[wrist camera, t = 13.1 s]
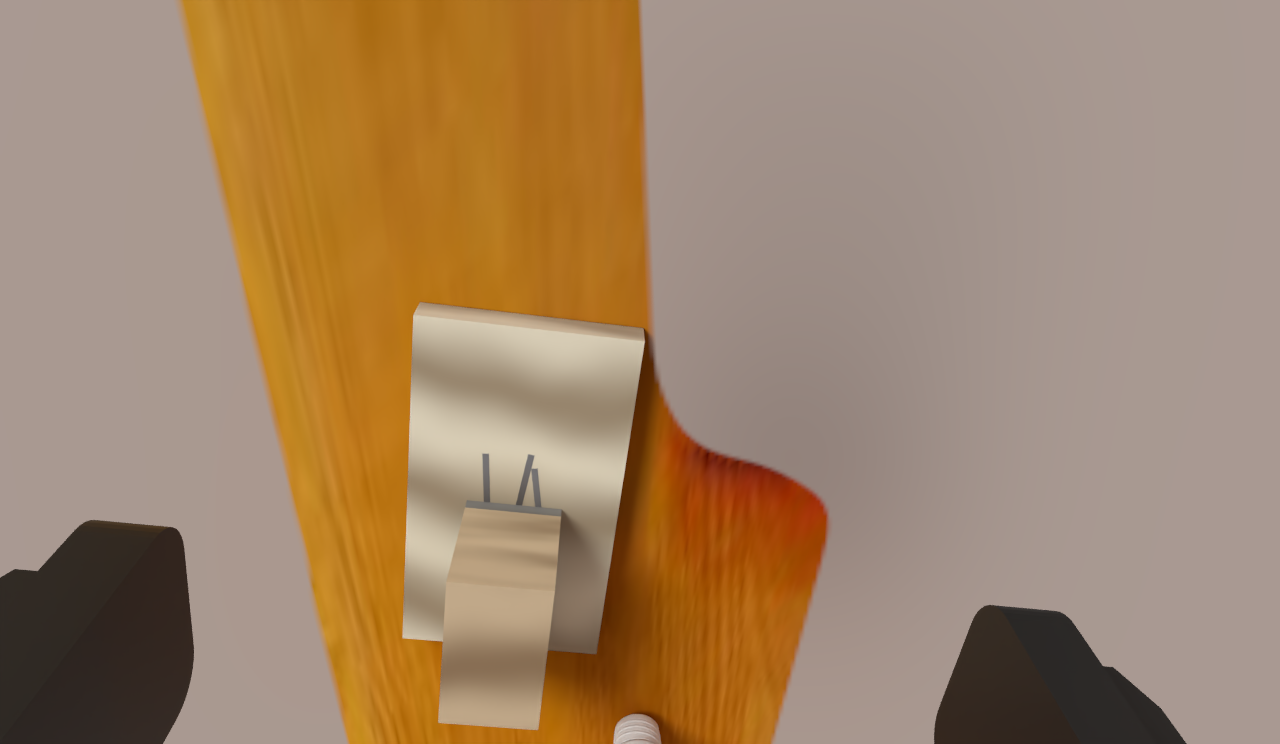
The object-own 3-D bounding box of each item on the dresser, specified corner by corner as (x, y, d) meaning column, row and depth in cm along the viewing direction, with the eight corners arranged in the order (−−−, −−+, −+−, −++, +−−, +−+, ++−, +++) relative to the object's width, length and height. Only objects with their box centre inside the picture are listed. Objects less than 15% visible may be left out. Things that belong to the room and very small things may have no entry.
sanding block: (466, 500, 42) (446, 582, 37) (561, 509, 43) (554, 591, 37) (458, 630, 46) (438, 722, 40) (546, 637, 46) (537, 729, 41)
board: (419, 302, 39) (413, 314, 38) (643, 328, 40) (644, 341, 39) (408, 618, 47) (402, 638, 46) (596, 634, 48) (596, 654, 47)
